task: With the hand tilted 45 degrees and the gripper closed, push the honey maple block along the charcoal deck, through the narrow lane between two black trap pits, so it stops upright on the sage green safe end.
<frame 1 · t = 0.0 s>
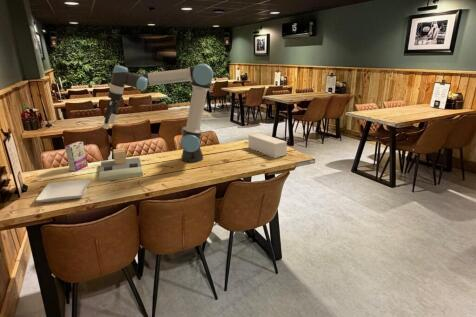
hand: (108, 126, 181), 28 cm above the table, tool tilted 20°, fingers open, 13 cm apart
candy bar box: (79, 168, 191), on the table
maple block: (120, 162, 195), point 2 cm above the table, touching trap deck
salad plate: (66, 194, 155), on the table
white rectangular block: (266, 152, 224), on the table
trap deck: (121, 170, 188), on the table
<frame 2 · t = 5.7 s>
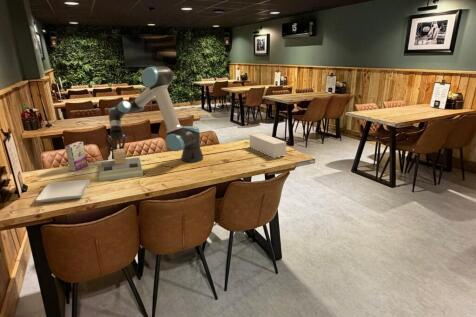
hand: (119, 157, 198), 4 cm above the table, tool tilted 45°, fingers closed
maple block: (120, 162, 194), point 3 cm above the table, touching gripper, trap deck
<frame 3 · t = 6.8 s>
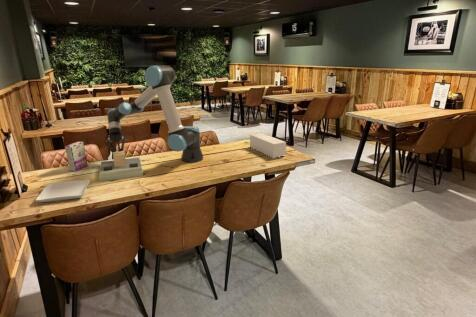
hand: (118, 160, 192), 4 cm above the table, tool tilted 45°, fingers closed
maple block: (120, 165, 189), point 3 cm above the table, touching gripper
everything else where it was.
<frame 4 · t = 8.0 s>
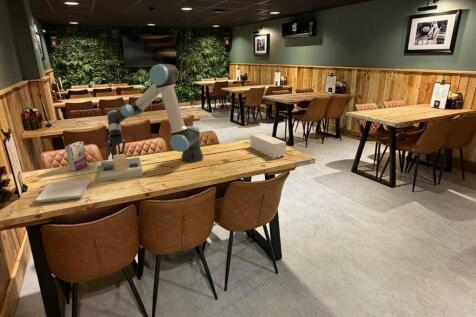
hand: (118, 163, 186), 4 cm above the table, tool tilted 45°, fingers closed
maple block: (121, 168, 183), point 3 cm above the table, touching gripper
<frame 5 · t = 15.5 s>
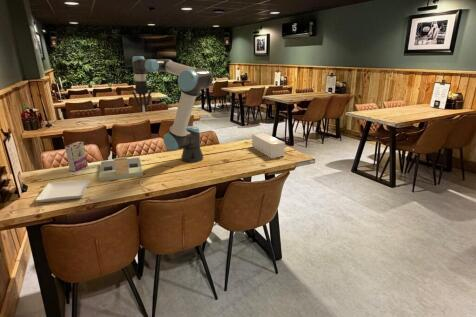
hand: (144, 115, 206), 29 cm above the table, tool pointing down, fingers closed
maple block: (122, 172, 178), point 2 cm above the table, touching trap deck
at the end: maple block 0.9 cm from the target spot, point 2.5 cm above the table; maple block tilted 0° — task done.
